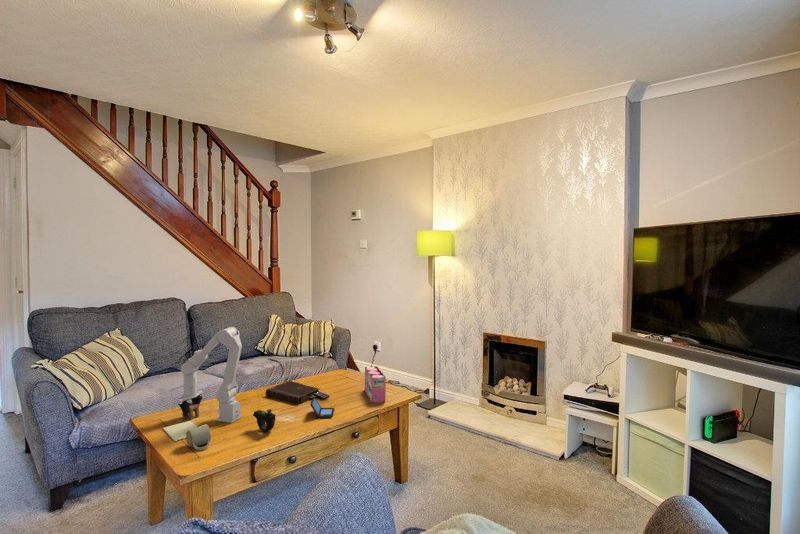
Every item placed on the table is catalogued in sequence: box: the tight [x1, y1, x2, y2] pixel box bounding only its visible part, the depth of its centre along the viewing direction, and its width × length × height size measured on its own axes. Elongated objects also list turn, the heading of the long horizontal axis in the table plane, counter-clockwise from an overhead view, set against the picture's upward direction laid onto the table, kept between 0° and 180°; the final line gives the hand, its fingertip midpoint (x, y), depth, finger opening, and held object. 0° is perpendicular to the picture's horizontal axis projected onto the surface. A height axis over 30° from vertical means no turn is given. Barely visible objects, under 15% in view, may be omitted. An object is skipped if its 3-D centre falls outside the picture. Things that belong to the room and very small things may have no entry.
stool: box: [182, 402, 200, 421], centre depth 211 cm, size 5×5×6 cm
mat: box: [162, 420, 199, 442], centre depth 195 cm, size 18×12×1 cm, turn 43°
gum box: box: [364, 365, 387, 403], centre depth 245 cm, size 24×8×14 cm, turn 15°
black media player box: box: [265, 380, 321, 405], centre depth 243 cm, size 19×25×5 cm
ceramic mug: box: [185, 423, 212, 451], centre depth 180 cm, size 11×8×8 cm
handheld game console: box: [310, 397, 335, 419], centre depth 216 cm, size 12×11×7 cm
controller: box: [252, 409, 277, 433], centre depth 196 cm, size 4×12×10 cm, turn 56°
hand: (190, 413), depth 211 cm, fingers open, 6 cm apart
